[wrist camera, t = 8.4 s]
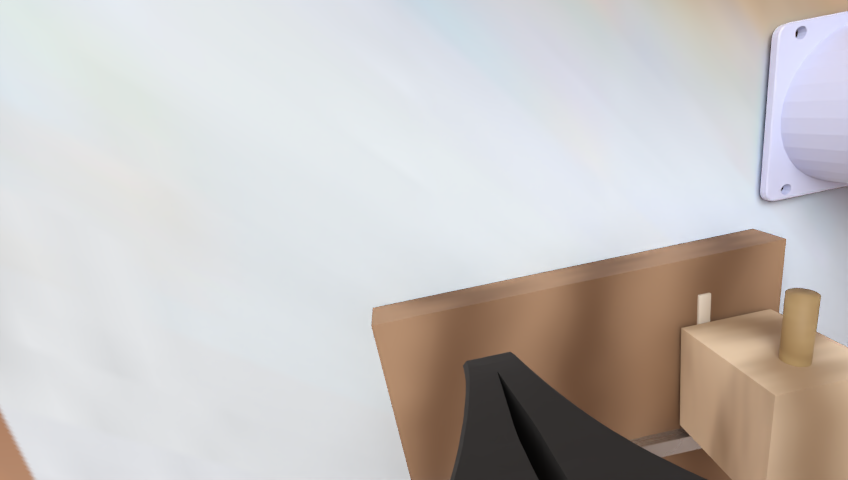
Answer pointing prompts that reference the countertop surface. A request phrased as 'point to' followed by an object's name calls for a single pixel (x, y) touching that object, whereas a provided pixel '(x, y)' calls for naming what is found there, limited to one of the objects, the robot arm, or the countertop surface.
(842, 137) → the robot arm
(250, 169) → the countertop surface
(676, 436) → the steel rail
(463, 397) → the walnut board
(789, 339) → the beige peg block
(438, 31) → the countertop surface
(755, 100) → the countertop surface
